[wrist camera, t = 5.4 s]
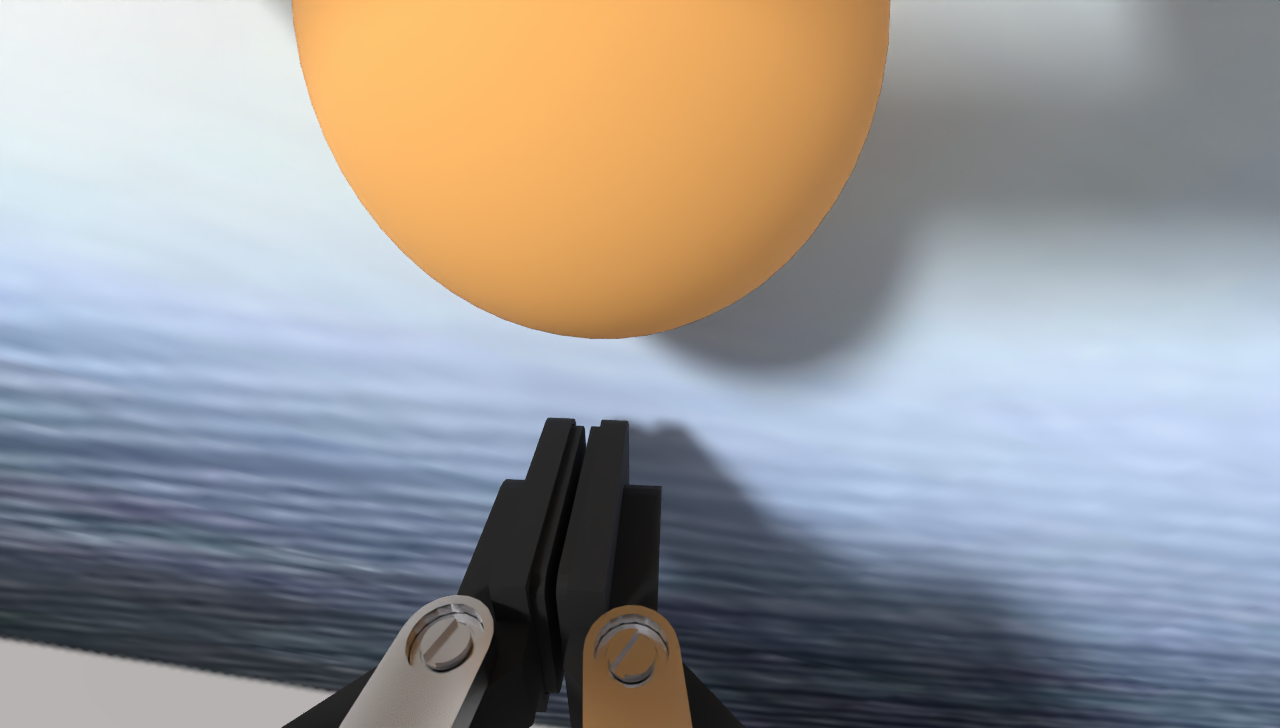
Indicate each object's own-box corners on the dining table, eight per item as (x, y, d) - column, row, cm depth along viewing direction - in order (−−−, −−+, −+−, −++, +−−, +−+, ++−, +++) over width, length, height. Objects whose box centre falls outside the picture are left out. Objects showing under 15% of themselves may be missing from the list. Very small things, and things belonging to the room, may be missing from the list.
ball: (-259, -828, 2) (437, -242, 7) (242, 394, 5) (468, 207, 10) (1373, -667, 2) (896, -182, 7) (819, 498, 5) (772, 257, 10)
